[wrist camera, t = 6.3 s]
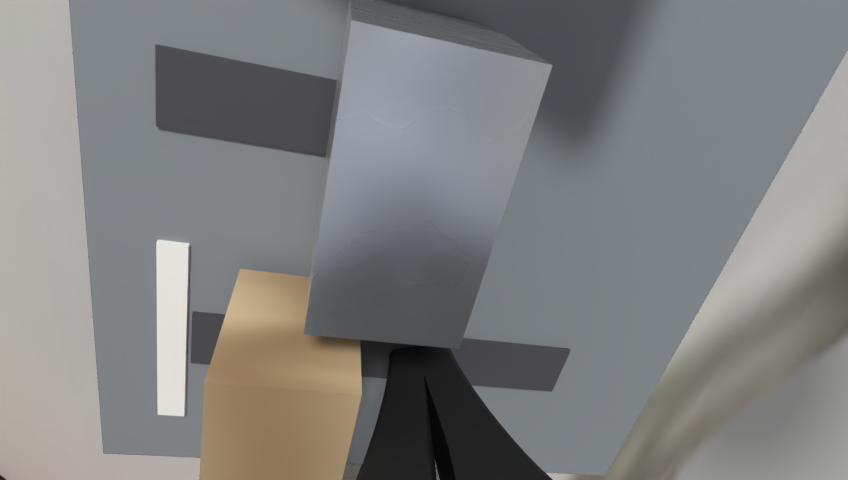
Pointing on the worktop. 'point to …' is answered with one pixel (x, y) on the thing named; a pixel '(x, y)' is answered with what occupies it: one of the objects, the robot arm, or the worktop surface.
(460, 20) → the steel slider
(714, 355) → the worktop surface
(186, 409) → the console
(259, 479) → the oak slider
